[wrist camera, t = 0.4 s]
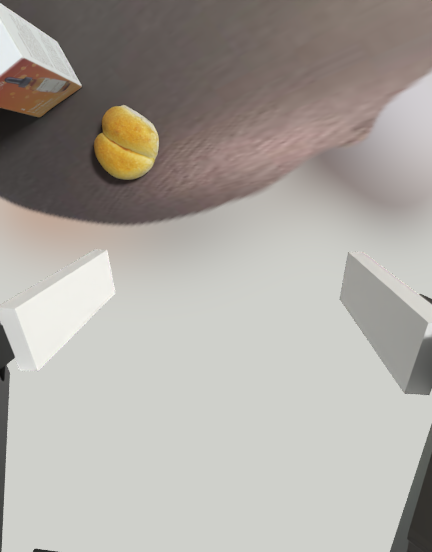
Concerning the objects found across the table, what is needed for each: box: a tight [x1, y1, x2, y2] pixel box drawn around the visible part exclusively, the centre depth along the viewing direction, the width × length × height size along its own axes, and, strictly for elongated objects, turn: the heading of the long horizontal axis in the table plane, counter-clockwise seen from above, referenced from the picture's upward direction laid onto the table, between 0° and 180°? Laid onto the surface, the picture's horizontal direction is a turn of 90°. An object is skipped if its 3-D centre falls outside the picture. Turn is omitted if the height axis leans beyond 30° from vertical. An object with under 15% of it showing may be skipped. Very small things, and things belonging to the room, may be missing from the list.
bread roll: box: [94, 105, 159, 180], centre depth 36 cm, size 8×9×4 cm
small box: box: [0, 3, 82, 117], centre depth 31 cm, size 8×6×10 cm
